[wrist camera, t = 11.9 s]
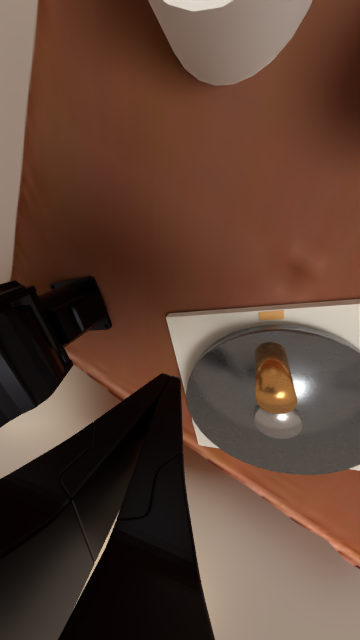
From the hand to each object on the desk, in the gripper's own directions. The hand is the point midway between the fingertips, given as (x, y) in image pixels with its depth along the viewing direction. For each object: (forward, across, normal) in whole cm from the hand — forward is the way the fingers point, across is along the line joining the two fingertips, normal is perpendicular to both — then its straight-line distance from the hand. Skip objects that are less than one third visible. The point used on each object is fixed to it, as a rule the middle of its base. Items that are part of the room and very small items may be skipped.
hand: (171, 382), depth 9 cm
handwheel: (+11, -8, +10) cm, 17 cm away
